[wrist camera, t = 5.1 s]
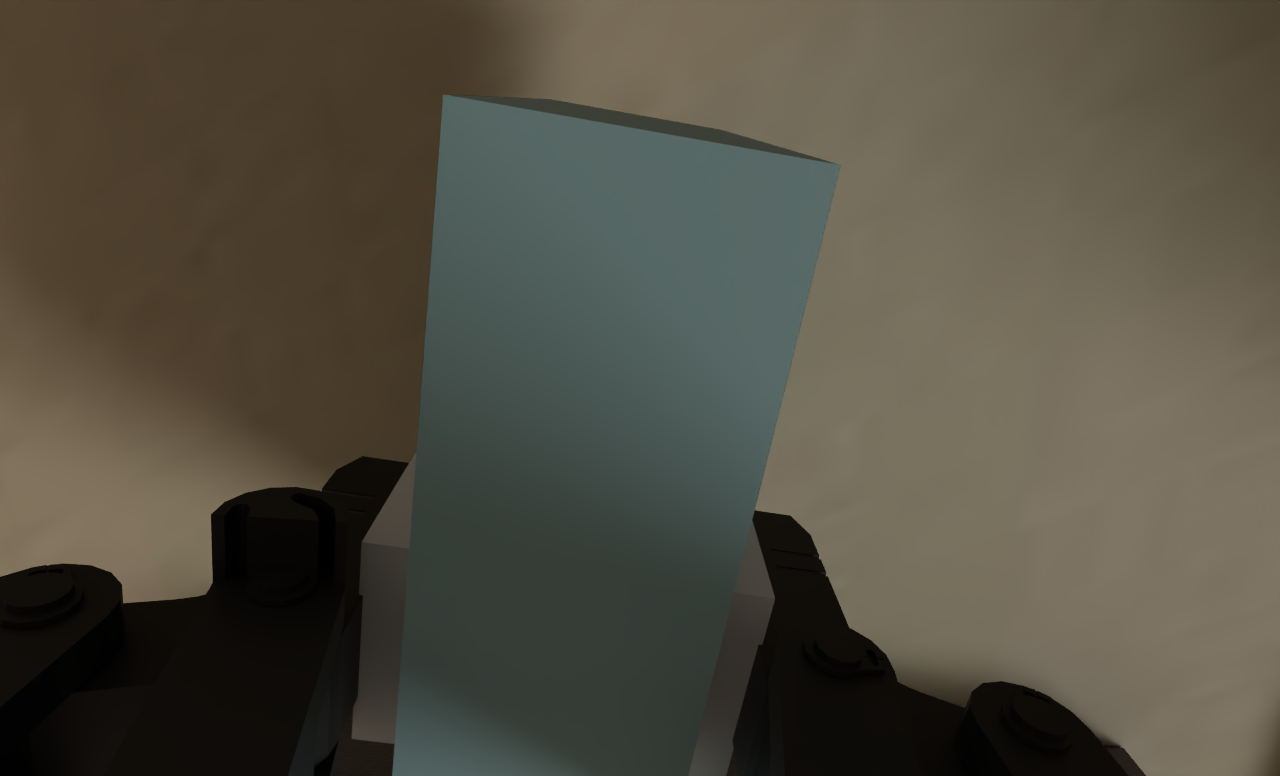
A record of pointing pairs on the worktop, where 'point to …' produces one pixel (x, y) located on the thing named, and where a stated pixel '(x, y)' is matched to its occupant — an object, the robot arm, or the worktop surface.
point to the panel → (591, 430)
